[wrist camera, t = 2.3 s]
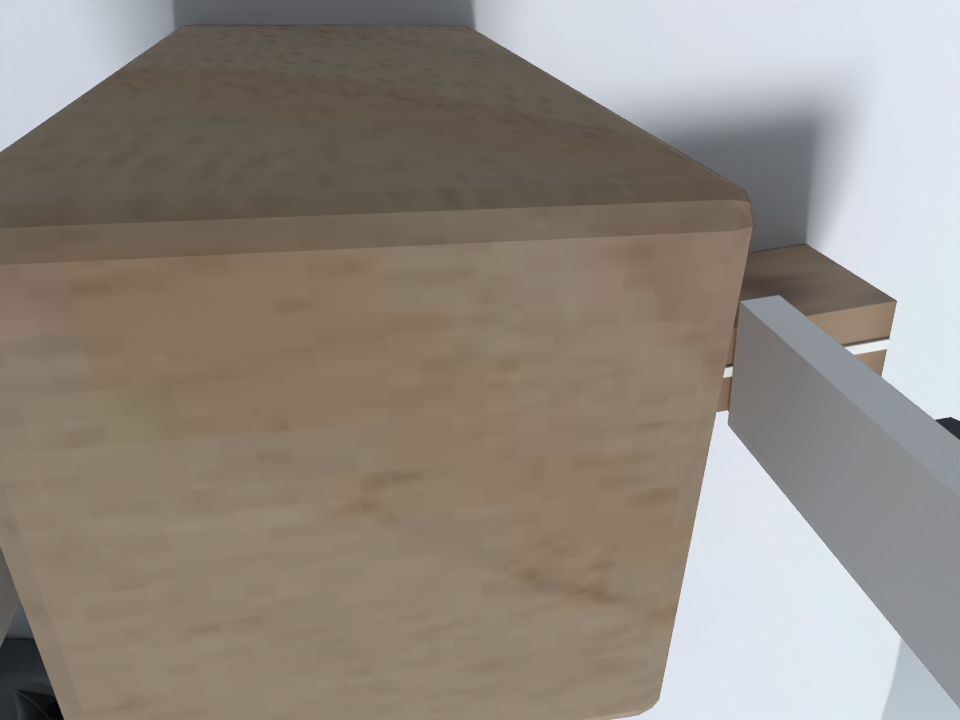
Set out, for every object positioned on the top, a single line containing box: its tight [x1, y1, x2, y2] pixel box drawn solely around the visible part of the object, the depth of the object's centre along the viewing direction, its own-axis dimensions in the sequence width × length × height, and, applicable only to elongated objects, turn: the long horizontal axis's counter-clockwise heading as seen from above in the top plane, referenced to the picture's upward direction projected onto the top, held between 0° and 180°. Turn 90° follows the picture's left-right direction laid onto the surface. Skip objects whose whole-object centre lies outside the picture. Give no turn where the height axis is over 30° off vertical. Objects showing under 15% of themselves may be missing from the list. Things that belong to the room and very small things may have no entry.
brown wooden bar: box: [716, 244, 897, 412], centre depth 30 cm, size 24×4×6 cm, turn 95°
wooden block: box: [0, 25, 753, 720], centre depth 19 cm, size 10×10×20 cm
